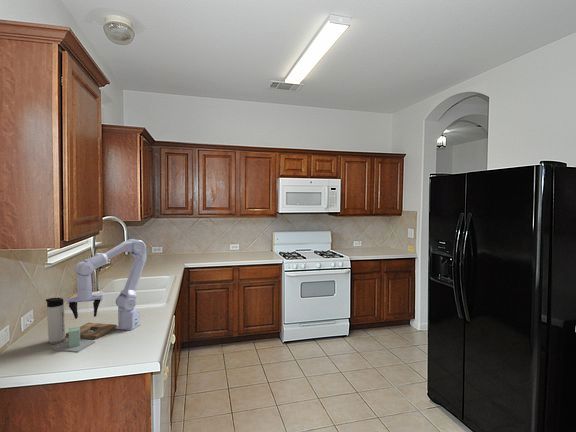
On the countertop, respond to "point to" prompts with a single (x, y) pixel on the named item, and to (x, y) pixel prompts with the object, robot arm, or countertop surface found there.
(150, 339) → the countertop surface
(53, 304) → the travel mug
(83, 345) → the rubber mat
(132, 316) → the robot arm
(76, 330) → the green block
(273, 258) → the countertop surface
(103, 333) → the pocket tray
